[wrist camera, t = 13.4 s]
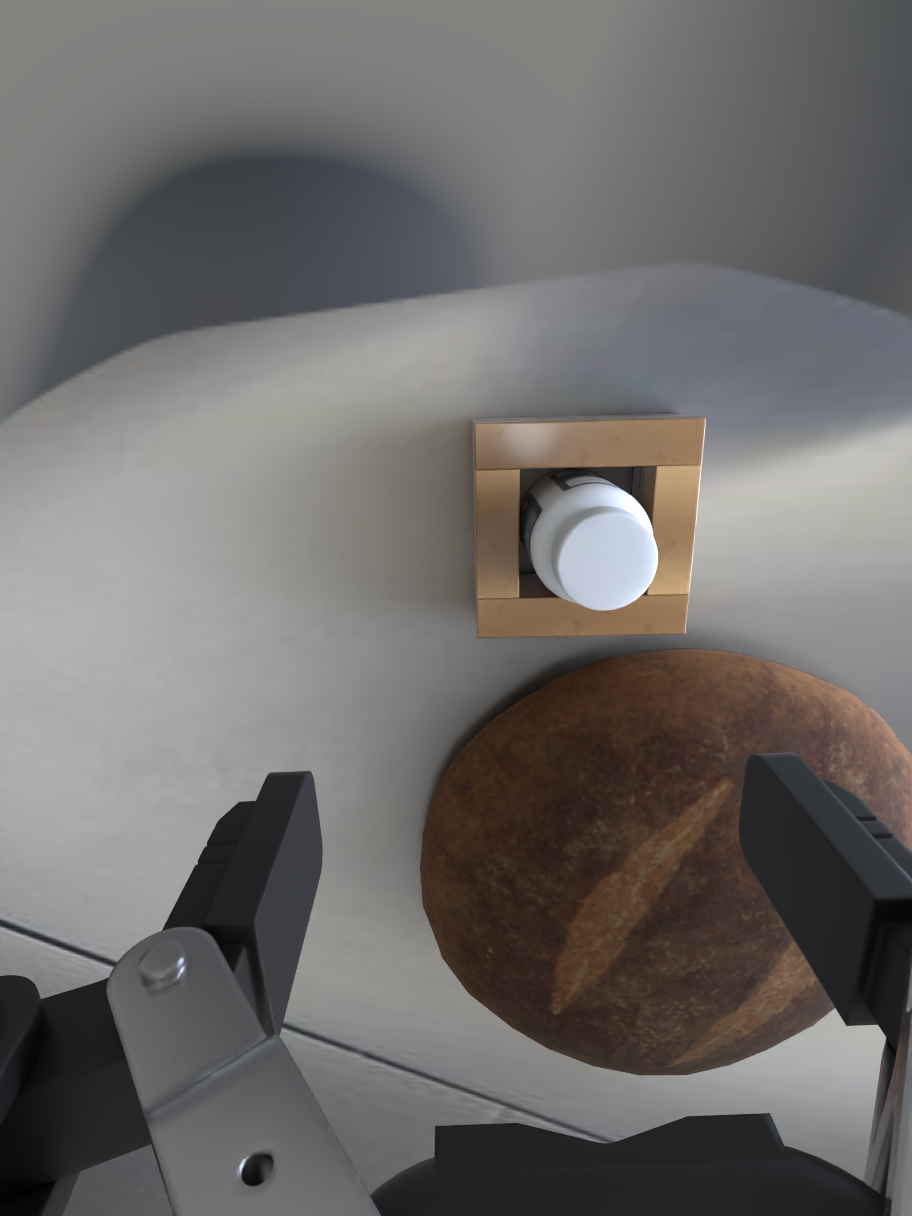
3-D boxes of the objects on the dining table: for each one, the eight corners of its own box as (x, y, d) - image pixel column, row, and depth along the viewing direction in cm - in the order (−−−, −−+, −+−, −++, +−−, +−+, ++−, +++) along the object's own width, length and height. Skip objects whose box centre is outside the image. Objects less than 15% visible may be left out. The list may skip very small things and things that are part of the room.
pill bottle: (561, 587, 35) (593, 653, 27) (496, 515, 34) (509, 560, 25) (641, 522, 34) (701, 568, 25) (578, 444, 33) (619, 466, 24)
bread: (992, 745, 38) (1141, 847, 30) (737, 1055, 46) (798, 1202, 38) (552, 546, 34) (581, 599, 26) (360, 921, 42) (335, 1052, 34)
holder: (472, 418, 32) (474, 423, 28) (677, 413, 32) (706, 417, 28) (475, 610, 35) (477, 638, 32) (661, 606, 35) (685, 634, 32)
